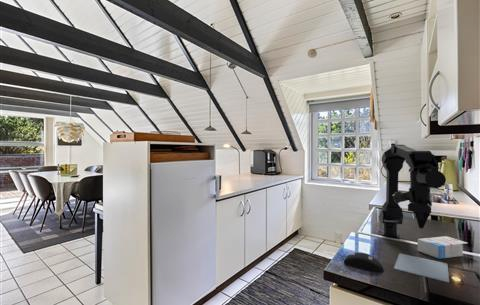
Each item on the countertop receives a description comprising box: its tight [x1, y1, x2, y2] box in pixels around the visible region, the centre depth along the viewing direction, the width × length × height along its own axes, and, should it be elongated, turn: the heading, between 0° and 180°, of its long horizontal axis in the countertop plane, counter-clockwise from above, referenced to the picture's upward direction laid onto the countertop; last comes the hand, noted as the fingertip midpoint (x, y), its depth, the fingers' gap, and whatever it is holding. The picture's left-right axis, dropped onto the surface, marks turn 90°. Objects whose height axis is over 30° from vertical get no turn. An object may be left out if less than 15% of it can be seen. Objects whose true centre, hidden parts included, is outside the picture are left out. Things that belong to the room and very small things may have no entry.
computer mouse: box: [343, 252, 384, 273], centre depth 82 cm, size 8×12×4 cm, turn 51°
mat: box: [393, 253, 450, 283], centre depth 81 cm, size 16×14×1 cm
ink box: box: [417, 235, 469, 260], centre depth 92 cm, size 8×5×15 cm
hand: (421, 228), depth 85 cm, fingers closed
